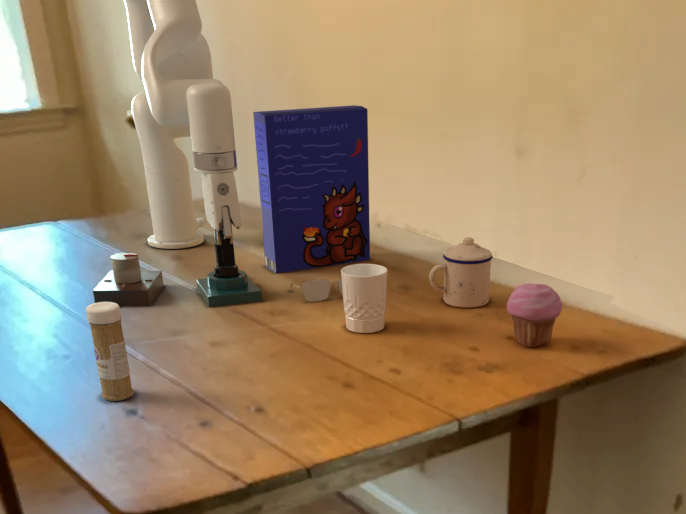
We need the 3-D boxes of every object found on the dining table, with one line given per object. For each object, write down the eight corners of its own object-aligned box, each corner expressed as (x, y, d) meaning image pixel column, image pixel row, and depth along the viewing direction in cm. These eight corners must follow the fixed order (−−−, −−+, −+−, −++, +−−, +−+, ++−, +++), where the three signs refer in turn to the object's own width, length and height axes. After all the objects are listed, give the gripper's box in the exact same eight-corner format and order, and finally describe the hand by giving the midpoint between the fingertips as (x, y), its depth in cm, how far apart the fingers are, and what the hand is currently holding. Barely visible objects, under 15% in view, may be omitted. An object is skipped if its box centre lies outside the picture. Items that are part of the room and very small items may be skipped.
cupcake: (523, 355, 146) (528, 294, 141) (495, 339, 153) (498, 280, 148) (568, 347, 150) (574, 287, 145) (538, 331, 156) (543, 273, 151)
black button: (213, 274, 173) (212, 264, 172) (236, 272, 174) (235, 262, 173) (217, 280, 169) (216, 270, 168) (241, 278, 171) (240, 268, 169)
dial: (112, 284, 169) (107, 258, 167) (117, 276, 173) (113, 251, 171) (139, 283, 169) (135, 257, 167) (143, 276, 174) (140, 250, 171)
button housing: (197, 289, 177) (194, 268, 175) (247, 284, 180) (245, 263, 178) (209, 307, 167) (206, 285, 165) (262, 301, 170) (260, 280, 168)
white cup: (394, 322, 160) (393, 265, 155) (378, 337, 154) (377, 278, 148) (352, 317, 162) (351, 261, 157) (335, 331, 156) (333, 273, 151)
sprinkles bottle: (96, 396, 132) (78, 306, 125) (122, 387, 135) (106, 298, 128) (114, 404, 129) (97, 313, 122) (140, 395, 132) (125, 305, 125)
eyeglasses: (300, 303, 169) (298, 281, 167) (289, 294, 176) (287, 273, 174) (370, 295, 174) (369, 273, 172) (356, 286, 180) (355, 266, 179)
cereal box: (357, 253, 199) (354, 104, 183) (370, 259, 195) (367, 107, 179) (265, 266, 190) (253, 110, 174) (276, 273, 186) (264, 114, 170)
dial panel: (113, 286, 178) (110, 270, 177) (163, 285, 179) (161, 269, 177) (95, 306, 167) (92, 289, 166) (149, 306, 168) (147, 289, 166)
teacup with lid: (478, 292, 176) (481, 230, 169) (497, 305, 168) (501, 242, 162) (420, 298, 172) (421, 235, 166) (437, 312, 165) (439, 247, 159)
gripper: (245, 166, 156) (254, 273, 166) (227, 153, 168) (237, 254, 177) (202, 169, 154) (214, 277, 163) (186, 156, 165) (199, 257, 175)
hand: (226, 265), depth 170 cm, fingers closed
